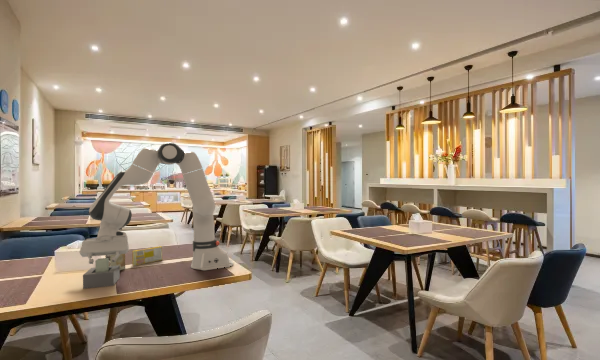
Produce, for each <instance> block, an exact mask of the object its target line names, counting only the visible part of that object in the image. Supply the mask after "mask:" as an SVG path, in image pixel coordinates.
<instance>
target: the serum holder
mask: <svg viewBox="0 0 600 360" xmlns="http://www.w3.org/2000/svg"><path fill="white" fill-rule="evenodd" d="M120 271H121V270H120V266H110V265H109V271H108V272H96V268H95V267H91V268H89V269H88V270H87V271H86V272H84V274H83V275H82V289H91V288H92V289H93V288H94V289H95V288H101V287H102V288H103V287H111V286H112V287H113V286H115V285H116V283H117V282H118V281H119V280H120V277H121V276H120V273H121V272H120Z"/></svg>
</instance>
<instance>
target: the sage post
mask: <svg viewBox="0 0 600 360" xmlns="http://www.w3.org/2000/svg"><path fill="white" fill-rule="evenodd" d="M94 262H95V264H94V266H95V267H94V268H96V272H108V271H109V266H110V262H109V258H106V257H104V258H102V257H101V258H97V259H96V260H94Z"/></svg>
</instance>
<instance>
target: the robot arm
mask: <svg viewBox="0 0 600 360" xmlns="http://www.w3.org/2000/svg"><path fill="white" fill-rule="evenodd" d="M160 164H162V165H163V164H164V165H174V164H175V165H178V167H179V169H180V171H181V174H182V178H183V180H184V183H185V187H186V190H187V193H188V194H189V198H190V201H191V205H192V226H193V227H192V228H193V240H192V252H193V253H192V261H191V265H190V268H191V269H194V270H201V271H210V270H217V268H218V269H224V267H225V268H231V267H232V266H233V265H234V262H233V260H231V259H230V257H229V254H228V252H227V251H226V250H224V249H223V248H222V247H220V246H219V245H221V244H220V241H219V240H217V239H216V238H215V218H214V212H215V210H216V202H215V199H214V196H213V194H212V191H211V188H210V186H209V183H208V181H207V177H206V175H205V170H204V169H203V165H202V163H201V161H200V159H199V156H198V155H197V153H196V152H195V151H190V150H189V151H187V150H186V151H184V150H183V149H182V148H181V147H180V146H179V145H178V144H176V143H174V142H169V141H167V142H164V143H162V144H161V145H160V146H159V148H157V149H154V148H152V147H144V148H142V149H141V150H140V151H139V152H138V154H137V155H136V156H135V157H134V159H133V161H132V163H131V165H130V166H129V167H128V168H127V169H126V170H124V171H123V170H121V171H120V172H118V173H117V174H116V175H115V176H114V178H113V179H112V180H111V181H110V183H109V184H108V185H107V186H106V187H105V188H104V190H103V191H102V192H101V193H100V195H99V196H98V197H97V198H96V200H94V201H93V202H92V204H91V205H90V207H89V209H88V213H89V216H90V218H91V219H92V220H95V221H99V222H100V223H99V227H100V228H99V229H98V231H97V236H96V237H95V238H86V239H84V240H82V242H81V246H80V249H79V255H80V256H81V257H82V258H88V264H90V265H91V264H92V265H93V264H94V262H95V260H94V259H93V257H101V256H105V255H116V256H115V257H112V262H116V259H117V258H118V257H119V256H120V254H125V255H126V254H128V253H129V250H130V244H129V241H128V235H127V233H126V232H124V231H121V230H120V231H121V232H120V231H118V230H119V229H120V228H122V229H123V228H124V227H127V226H128V225H129V224H130V223H131V220H132V216H133V215H132V214H133V213H132V210H131V209H130V208H129V207H127V206H124V205H120V204H117V203H114V202H111V201H110V200H111V199H112V197H113V196H114V195H115V193H116V192H117V191H118V189H120V187H123V186H131V185H132V186H141V185H145V184H147V183H148V182H150V180H151V178H152V177H153V175H154V174H155V171H156V169H157V168H158V166H159V165H160ZM230 266H231V267H230Z"/></svg>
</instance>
